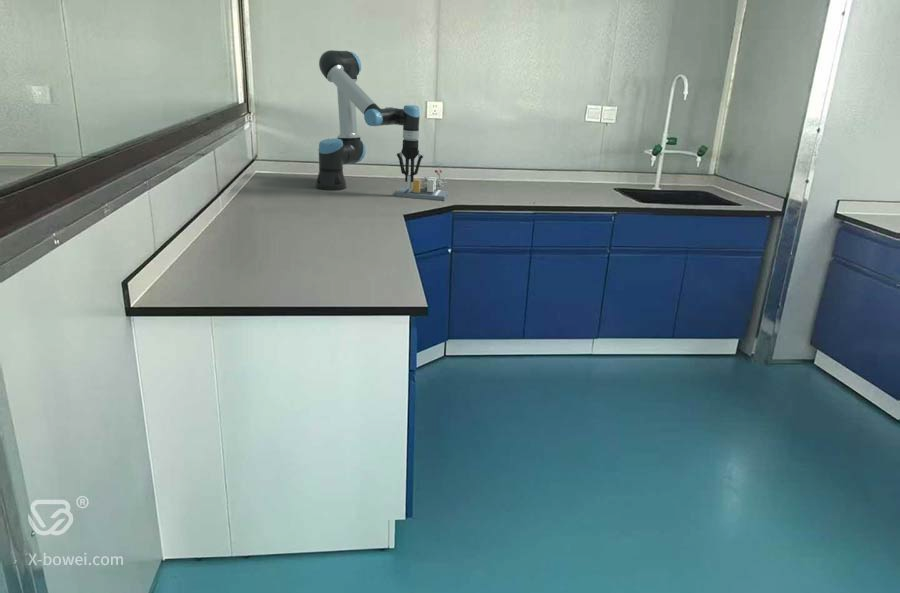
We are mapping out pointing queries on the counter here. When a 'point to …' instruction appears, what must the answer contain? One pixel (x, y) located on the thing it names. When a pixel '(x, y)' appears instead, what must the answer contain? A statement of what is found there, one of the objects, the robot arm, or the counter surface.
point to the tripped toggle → (416, 185)
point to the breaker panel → (424, 192)
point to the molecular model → (437, 178)
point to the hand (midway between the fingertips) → (409, 188)
